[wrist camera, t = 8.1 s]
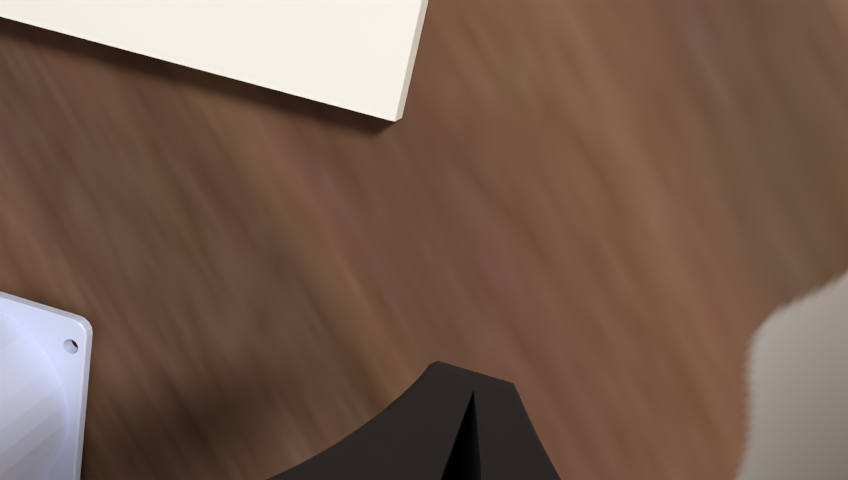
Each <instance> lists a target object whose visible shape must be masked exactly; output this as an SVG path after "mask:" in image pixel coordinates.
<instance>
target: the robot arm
mask: <svg viewBox="0 0 848 480" xmlns="http://www.w3.org/2000/svg"><path fill="white" fill-rule="evenodd" d="M92 334H93V332H92V327H91V325H90V323H89V322H88V321H87V320H86V319H85V318H84V317H82V316H79V315H76V314H73V313H70V312H66V311H63V310H60V309H56V308H53V307H50V306H47V305H43V304H40V303H37V302H33V301H30V300H27V299H24V298H20V297H17V296H14V295H10V294H7V293H4V292H0V480H80V474H81V462H82V450H83V439H84V427H85V416H86V404H87V392H88V381H89V369H90V358H91V346H92ZM71 339H72V340H73V341H75V342H76V343H77V345H78V348H77V347H75V346H74V345H73V343H72V340H71ZM266 480H561V479H560V477H559V475H558V474H557V472H556V470H555V468H554V466H553V464H552V463H551V461H550V459H549V457H548V455H547V453H546V451H545V449H544V448H543V446H542V444H541V442H540V440H539V438H538V436H537V434H536V431H535V429H534V427H533V425H532V423H531V421H530V419H529V416H528V414H527V412H526V410H525V408H524V405H523V403H522V401H521V398H520V396H519V394H518V392H517V390H516V388H515V386H514V384H513V383H510V382H507V381H504V380H500V379H497V378H493V377H490V376H487V375H483V374H480V373H477V372H473V371H470V370H466V369H463V368H460V367H456V366H453V365H450V364H446V363H443V362H439V361H436V362H434V363H432V364H430V365H428V367H427V369H426V370H425V371H424V373H423V374H422V375H421V376H420V377H419V378H418V379H417V380H416V381H415V382H414V383H413V384H412V385H411V386H410V387H409V388H408V389H407V390H406V391H405V392H404V393H403V394H402V395H401V396H400V397H398V398H397V399H396V400H395V401H394V402H392V403H391V404H390V405H389V406H388V407H387V408H385V409H384V410H383V411H382V412H381V413H379V414H378V415H377V416H375V417H374V418H373V419H371V420H370V421H368V422H367V423H366V424H364V425H363V426H361V427H360V428H359V429H357V430H356V431H354V432H353V433H352V434H350V435H349V436H347V437H346V438H344V439H343V440H341V441H339V442H338V443H336V444H335V445H333V446H331V447H330V448H328V449H326V450H325V451H323V452H321V453H319V454H318V455H316V456H314V457H312V458H310V459H308V460H307V461H305V462H303V463H301V464H299V465H297V466H295V467H293V468H291V469H289V470H286V471H284V472H282V473H280V474H278V475H275V476H273V477H271V478H269V479H266Z"/></svg>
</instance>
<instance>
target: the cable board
mask: <svg viewBox="0 0 848 480" xmlns="http://www.w3.org/2000/svg"><path fill="white" fill-rule="evenodd" d="M427 5H428V0H0V17H4V18H8V19H11V20H15V21H19V22H23V23H26V24H30V25H34V26H38V27H41V28H45V29H49V30H53V31H56V32H60V33H64V34H68V35H71V36H75V37H79V38H83V39H86V40H90V41H94V42H98V43H101V44H105V45H109V46H113V47H116V48H120V49H124V50H128V51H131V52H135V53H139V54H143V55H146V56H150V57H154V58H158V59H161V60H165V61H169V62H173V63H176V64H180V65H184V66H188V67H191V68H195V69H199V70H203V71H206V72H210V73H214V74H218V75H221V76H225V77H229V78H233V79H236V80H240V81H244V82H248V83H251V84H255V85H259V86H263V87H266V88H270V89H274V90H278V91H281V92H285V93H289V94H293V95H296V96H300V97H304V98H308V99H311V100H315V101H319V102H323V103H326V104H330V105H334V106H338V107H341V108H345V109H349V110H353V111H356V112H360V113H364V114H368V115H371V116H375V117H379V118H383V119H386V120H390V121H394V122H395V121H397V120H399V119H401V118H402V115H403V111H404V106H405V102H406V97H407V93H408V89H409V84H410V80H411V75H412V71H413V66H414V62H415V58H416V53H417V49H418V44H419V40H420V36H421V31H422V27H423V22H424V18H425V13H426V9H427Z"/></svg>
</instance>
